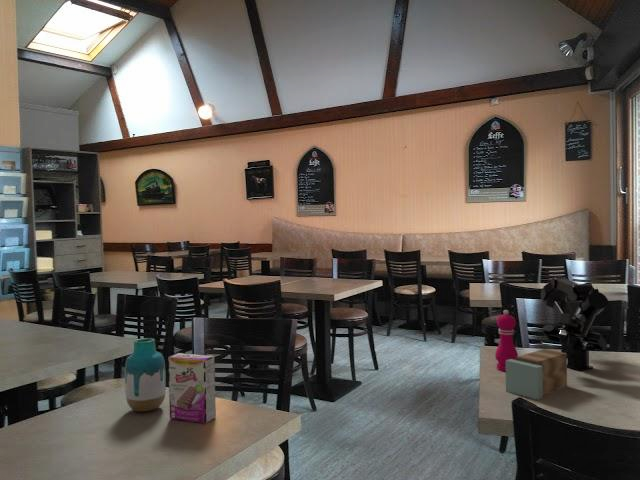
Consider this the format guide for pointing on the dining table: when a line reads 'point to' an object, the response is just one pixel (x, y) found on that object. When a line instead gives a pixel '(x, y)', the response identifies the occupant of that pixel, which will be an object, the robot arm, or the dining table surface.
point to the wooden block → (549, 368)
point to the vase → (145, 376)
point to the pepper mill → (505, 340)
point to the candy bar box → (192, 387)
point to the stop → (524, 379)
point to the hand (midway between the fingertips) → (562, 359)
